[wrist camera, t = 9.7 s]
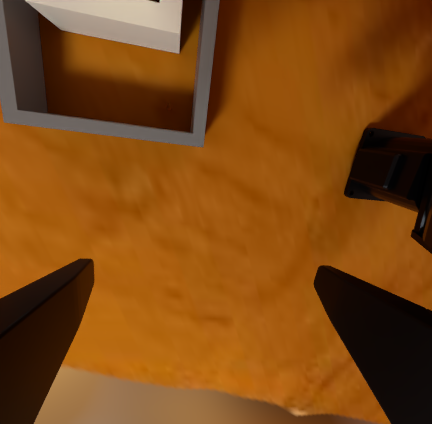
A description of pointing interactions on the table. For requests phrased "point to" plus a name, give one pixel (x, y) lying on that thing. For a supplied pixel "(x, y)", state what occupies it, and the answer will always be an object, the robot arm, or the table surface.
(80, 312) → the robot arm
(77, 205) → the table surface
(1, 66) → the walled frame
